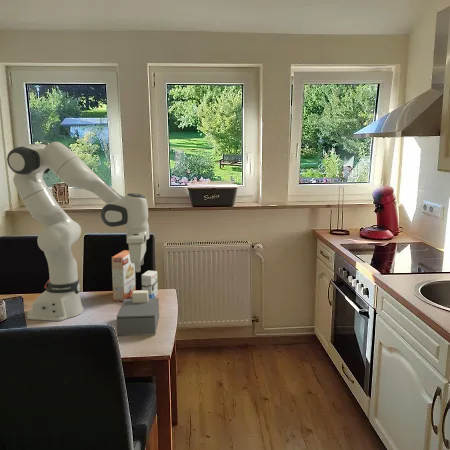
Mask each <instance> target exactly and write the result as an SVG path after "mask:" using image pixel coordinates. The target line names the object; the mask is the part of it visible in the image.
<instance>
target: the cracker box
mask: <svg viewBox="0 0 450 450" xmlns="http://www.w3.org/2000/svg"><path fill="white" fill-rule="evenodd" d="M111 272H112V273H111V275H112V276H111V277H112V298H113V299H112V300H113V301H117V302H118V301H119V302H123V301H124V299H129V298H130V297H131V296H132V293H133V291H137V290H136V271H135V265H134V263H131V260H130V254H129V249H127V250H126V249H124V250H122V251H120V252H119V253H118V252H117V254H115V255H114V256H111Z"/></svg>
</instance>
